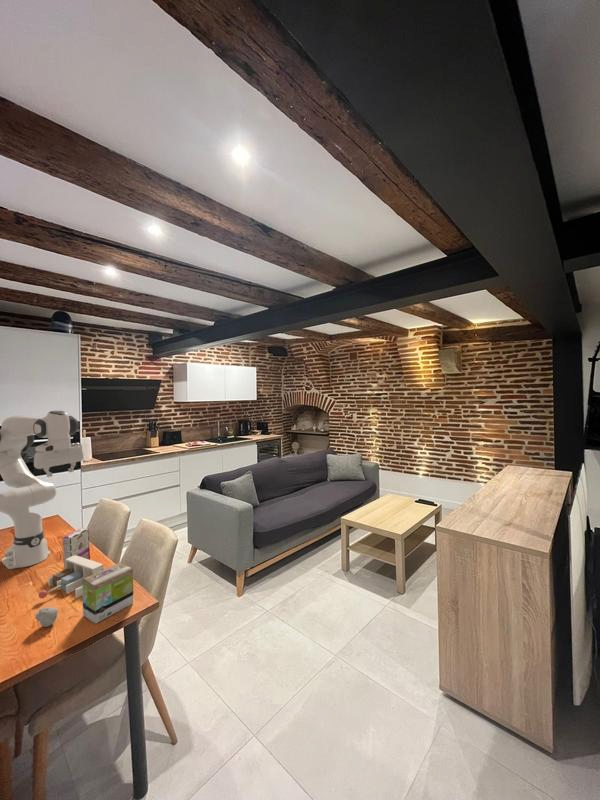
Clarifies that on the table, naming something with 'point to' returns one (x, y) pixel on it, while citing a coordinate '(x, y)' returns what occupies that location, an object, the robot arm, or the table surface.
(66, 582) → the tethered block
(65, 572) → the walnut block
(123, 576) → the tea box
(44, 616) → the grey rounded lump
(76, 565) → the lane shelf
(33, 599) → the table surface
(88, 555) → the candy bar box
